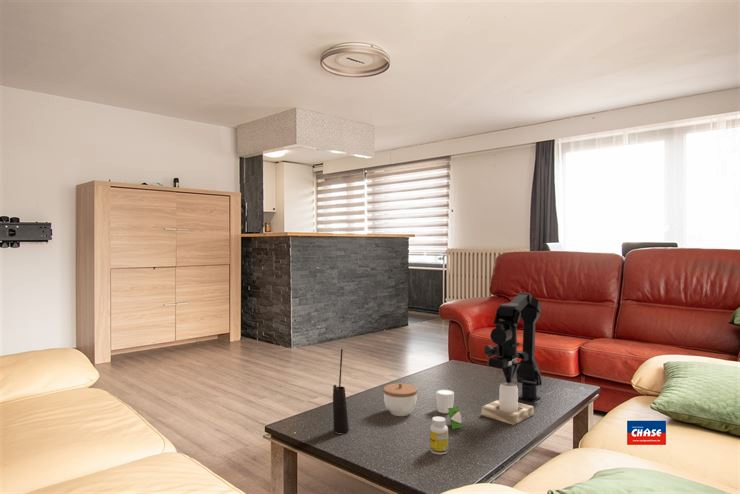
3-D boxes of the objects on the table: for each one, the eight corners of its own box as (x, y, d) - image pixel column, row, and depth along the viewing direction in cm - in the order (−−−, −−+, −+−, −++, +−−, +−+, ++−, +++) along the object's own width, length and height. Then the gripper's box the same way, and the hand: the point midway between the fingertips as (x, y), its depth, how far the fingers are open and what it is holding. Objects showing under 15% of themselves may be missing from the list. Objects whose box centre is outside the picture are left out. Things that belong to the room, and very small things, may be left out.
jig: (501, 405, 178) (501, 398, 178) (533, 414, 169) (533, 406, 169) (481, 414, 168) (481, 406, 168) (513, 424, 159) (513, 416, 159)
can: (498, 418, 165) (498, 384, 165) (500, 412, 171) (500, 379, 171) (517, 420, 163) (517, 386, 163) (518, 414, 169) (518, 381, 169)
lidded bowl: (424, 412, 171) (424, 382, 171) (402, 421, 162) (402, 390, 162) (398, 404, 180) (397, 376, 180) (376, 413, 171) (376, 383, 171)
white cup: (454, 414, 169) (454, 395, 169) (435, 413, 170) (435, 394, 170) (454, 408, 176) (454, 389, 176) (436, 406, 177) (436, 388, 177)
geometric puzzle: (438, 416, 161) (446, 403, 157) (455, 414, 164) (462, 400, 159) (447, 435, 156) (455, 421, 151) (464, 431, 158) (472, 418, 154)
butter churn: (321, 427, 157) (321, 345, 157) (347, 423, 161) (347, 343, 161) (329, 437, 148) (329, 351, 149) (356, 433, 152) (356, 348, 152)
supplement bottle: (428, 447, 141) (428, 415, 141) (445, 446, 142) (445, 415, 142) (432, 455, 136) (432, 422, 136) (450, 454, 136) (450, 421, 136)
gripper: (502, 333, 179) (502, 373, 179) (475, 340, 167) (475, 383, 167) (529, 337, 171) (529, 379, 171) (502, 344, 158) (502, 390, 159)
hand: (508, 382), depth 167 cm, fingers closed
